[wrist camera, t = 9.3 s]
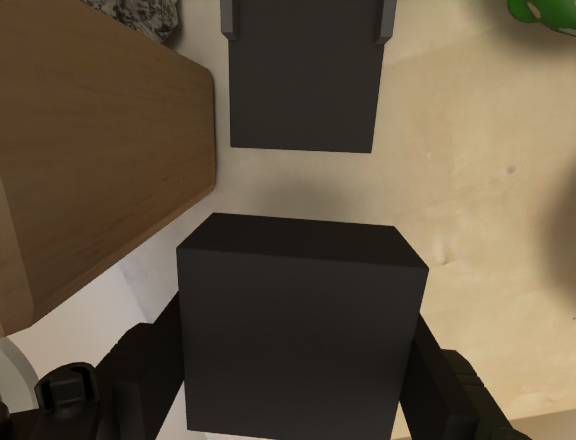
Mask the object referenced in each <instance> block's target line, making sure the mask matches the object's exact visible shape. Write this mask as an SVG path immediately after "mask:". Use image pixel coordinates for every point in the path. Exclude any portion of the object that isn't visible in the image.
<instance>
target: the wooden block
mask: <svg viewBox="0 0 576 440" xmlns="http://www.w3.org/2000/svg"><path fill="white" fill-rule="evenodd" d="M215 184H216V176H215V146H214V116H213V86H212V78H211V75H210V73H209V70H208V69H206V68H204V67H203V66H201V65H199V64H197V63H195V62H193V61H191V60H190V59H188V58H186V57H184V56H182V55H180V54H178V53H177V52H175V51H173V50H171V49H169V48H167V47H165V46H164V45H162V44H160V43H158V42H156V41H154V40H152V39H150V38H149V37H147V36H145V35H143V34H141V33H139V32H137V31H136V30H134V29H132V28H130V27H128V26H126V25H124V24H123V23H121V22H119V21H117V20H115V19H113V18H111V17H110V16H108V15H106V14H104V13H102V12H100V11H98V10H97V9H95V8H93V7H91V6H89V5H87V4H85V3H84V2H82V1H80V0H0V338H1V337H6V336H8V335H11V334H13V333H16V332H18V331H21V330H23V329H26V328H29V327H31V326H32V325H33V324H35V323H36V322H37V321H39V320H40V319H41V318H43V317H44V316H45V315H47V314H48V313H49V312H51V311H52V310H53V309H55V308H56V307H58V306H59V305H60V304H62V303H63V302H64V301H66V300H67V299H68V298H70V297H71V296H72V295H74V294H75V293H76V292H78V291H79V290H80V289H82V288H83V287H84V286H86V285H87V284H88V283H90V282H91V281H92V280H94V279H95V278H96V277H98V276H99V275H100V274H102V273H103V272H104V271H106V270H107V269H109V268H110V267H111V266H113V265H114V264H115V263H117V262H118V261H119V260H121V259H122V258H123V257H125V256H126V255H127V254H129V253H130V252H131V251H133V250H134V249H135V248H137V247H138V246H139V245H141V244H142V243H144V242H145V241H146V240H148V239H149V238H150V237H152V236H153V235H154V234H156V233H157V232H158V231H160V230H161V229H162V228H164V227H165V226H166V225H168V224H169V223H170V222H172V221H173V220H174V219H176V218H177V217H178V216H180V215H181V214H182V213H184V212H185V211H187V210H188V209H189V208H191V207H192V206H193V205H195V204H196V203H197V202H199V201H200V200H201V199H203V198H204V197H205V196H207V195H208V194H209V193H211V192H212V191H213V189H214V186H215Z"/></svg>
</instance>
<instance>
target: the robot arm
mask: <svg viewBox="0 0 576 440" xmlns="http://www.w3.org/2000/svg"><path fill="white" fill-rule="evenodd" d="M184 379H185V376H184V359H183V343H182V327H181V317H180V304H179V291H178V292H177V293H176V295H175V296H174V297H173V298H172V300H171V301H170V302H169V304H168V305H167V306H166V308H165V309H164V310H163V312H162V313H161V314H160V315H159V317H158V318H157V319H156V321H155V322H154V323H153V324H150V323H139V324H137V325H135V326H134V327H132V328H131V329H129V330H128V331H127V332H126V333H125V334H124V335H123V336H122V337H121V339H120V340H119V341H118V343H117V344H115V345H114V347H113V348H112V349H111V350H110V353H108V354H107V355H106V356H105V357H104V358H103V359H102V361H101V362H100V363H99V364H98V365H97V366H96V367H95V368H94V367H93V366H92V365H91V364H89V363H85V362H76V363H70V364H67V365H63V366H61V367H59V368H57V369H55V370H53V371H51V372H49V373H48V374H47V375H45V376H44V377H43V378H42V379H40V380H39V382H38V383H37V384H36V386H35V387H34V390H35V394H36V398H37V401H38V405H39V409H33V410H28V411H22V412H17V413H11V414H9V411H8V407H7V406H6V405H5V404H4V403H3V402H2V398H1V395H0V440H155V439H156V437H157V435H158V433H159V431H160V429H161V427H162V425H163V423H164V420H165V418H166V416H167V414H168V412H169V410H170V408H171V406H172V404H173V401H174V399H175V397H176V395H177V393H178V391H179V389H180V387H181V385H182V383H183V381H184ZM399 401H400V404H401V407H402V410H403V413H404V416H405V419H406V422H407V425H408V428H409V431H410V434H411V437H412V440H532V439H531V438H529V437H528V436H527V435H525V434H523V433H521V432H519V431H517V430H515V429H513V427H512V426H511V424H510V423H509V421H508V420H507V418H506V417H505V415H504V414H503V412H502V411H501V409H500V408H499V406H498V405H497V403H496V402H495V400H494V399H493V397H492V396H491V394H490V393H489V391H488V390H487V388H485V387H484V384H483V382H482V381H481V379H480V378H479V377H477V373H476V372H475V370H474V369H473V367H472V366H471V364H470V363H469V362H468V361H467V360H466V359H465V358H464V357H463V356H462V355H460V354H459V353H458V352H457V351H456V350H447V349H441V348H440V346H439V345H438V343H437V341H436V340H435V338H434V336H433V335H432V333H431V331H430V329H429V328H428V326H427V324H426V323H425V321H424V319H423V317H422V316H421V314H420V312H419V316H418V320H417V325H416V329H415V333H414V338H413V341H412V345H411V349H410V354H409V358H408V362H407V367H406V371H405V376H404V380H403V384H402V389H401V393H400V398H399Z"/></svg>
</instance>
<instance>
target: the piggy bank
mask: <svg viewBox="0 0 576 440" xmlns="http://www.w3.org/2000/svg"><path fill="white" fill-rule="evenodd" d="M508 8H509V11H510V13H511V15H512V16H513V17H514V18H515V19H517V20H518V21H521V22H525V23H536V22H541V23H542V24H543V25H545V26H547V27H548V28H550V29H552V30H554V31H557V32H560V33H564V34H567V35H570V36H574V37H576V0H508Z"/></svg>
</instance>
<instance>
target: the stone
mask: <svg viewBox="0 0 576 440" xmlns="http://www.w3.org/2000/svg"><path fill="white" fill-rule="evenodd" d="M80 1H82V2H84V3H85V4H87V5H89V6H91V7H93V8H95V9H97V10H98V11H100V12H102V13H104V14H106V15H108V16H110V17H111V18H113V19H115V20H117V21H119V22H121V23H123V24H124V25H126V26H128V27H130V28H132V29H134V30H136V31H137V32H139V33H141V34H143V35H145V36H147V37H149V38H150V39H152V40H154V41H156V42H158V43H163V42H164V41H165V40H166V39H167V37H168V36H169V35H170V34H171V33H172V31H173V29H174V28H175V27H176V25H177V24H178V18H177V11H176V7H175V3H176V2H177V0H80Z"/></svg>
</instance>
